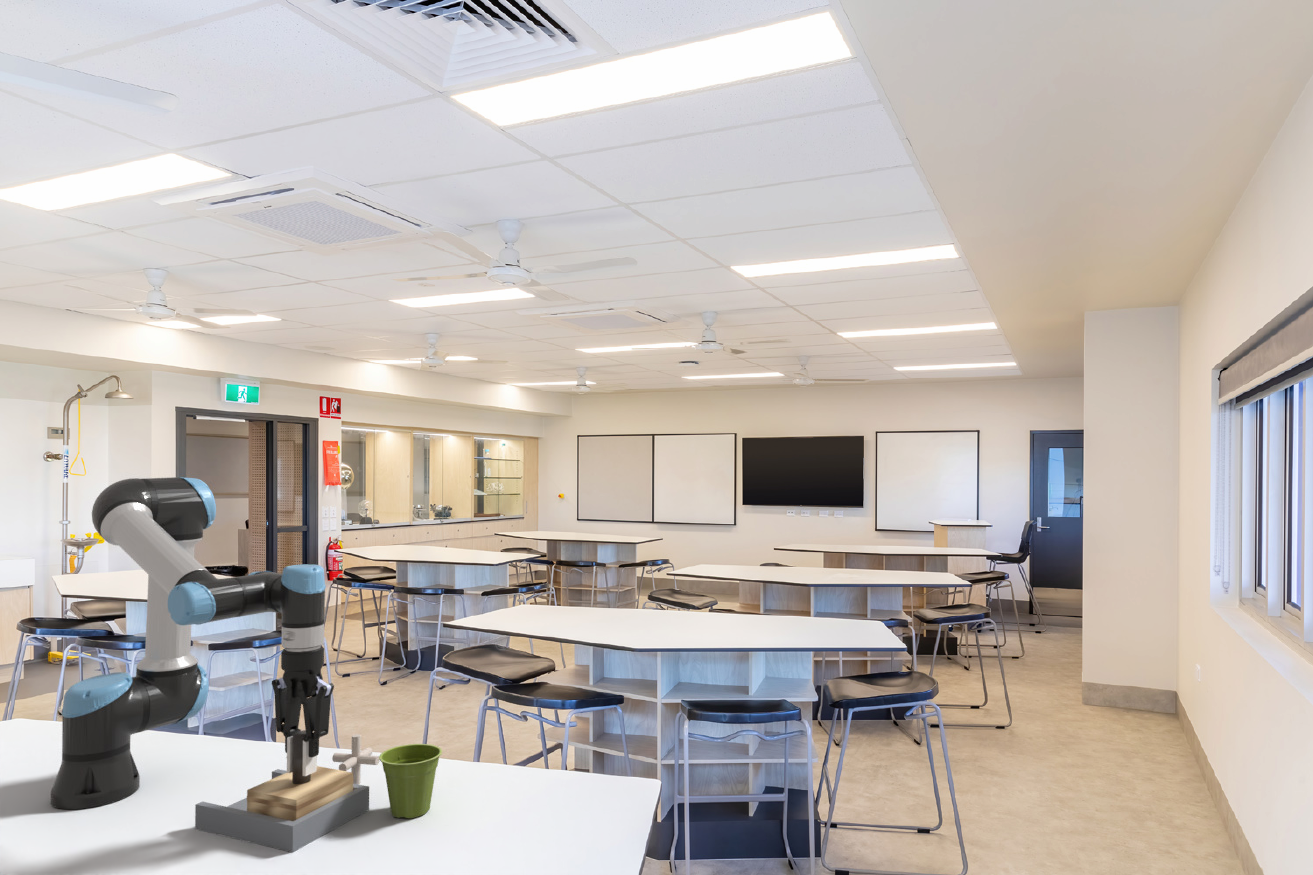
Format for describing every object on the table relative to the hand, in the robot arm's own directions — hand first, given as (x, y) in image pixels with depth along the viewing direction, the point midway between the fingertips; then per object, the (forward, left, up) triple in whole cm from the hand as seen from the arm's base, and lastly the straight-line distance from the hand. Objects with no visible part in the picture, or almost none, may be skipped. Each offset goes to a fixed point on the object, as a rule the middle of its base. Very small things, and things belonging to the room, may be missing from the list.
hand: (301, 771), depth 156 cm
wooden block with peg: (0, 0, -8) cm, 8 cm away
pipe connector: (-4, +19, -10) cm, 22 cm away
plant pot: (+16, +12, -10) cm, 22 cm away
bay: (-4, 0, -10) cm, 10 cm away
